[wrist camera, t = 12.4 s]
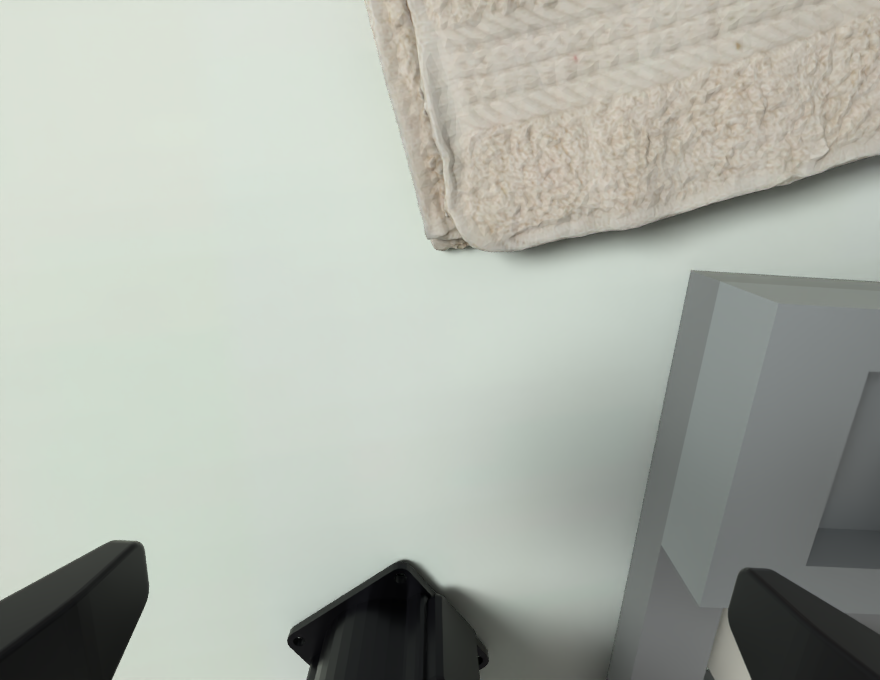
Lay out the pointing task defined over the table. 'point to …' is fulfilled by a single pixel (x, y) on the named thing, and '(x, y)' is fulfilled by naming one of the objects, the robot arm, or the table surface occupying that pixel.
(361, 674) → the robot arm
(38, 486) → the table surface
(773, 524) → the socket panel
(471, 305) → the table surface
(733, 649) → the plug
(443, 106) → the washcloth
